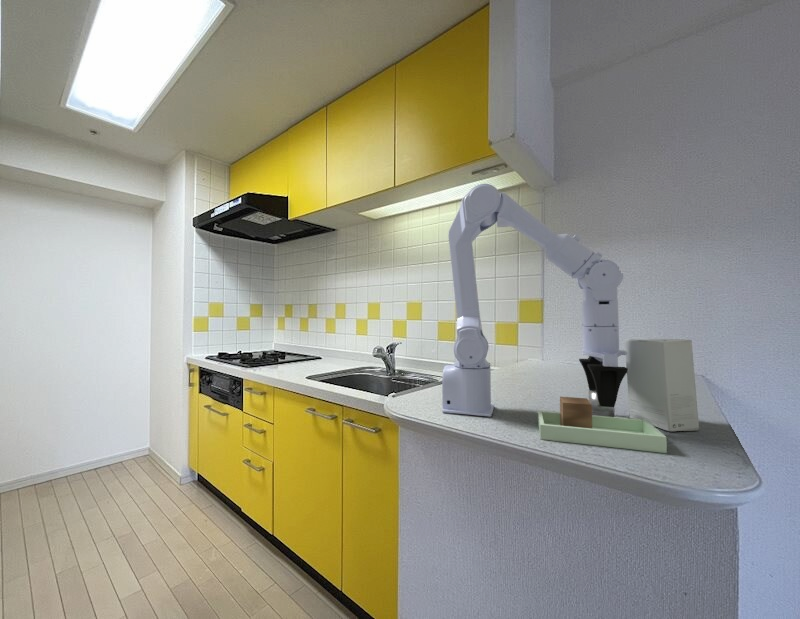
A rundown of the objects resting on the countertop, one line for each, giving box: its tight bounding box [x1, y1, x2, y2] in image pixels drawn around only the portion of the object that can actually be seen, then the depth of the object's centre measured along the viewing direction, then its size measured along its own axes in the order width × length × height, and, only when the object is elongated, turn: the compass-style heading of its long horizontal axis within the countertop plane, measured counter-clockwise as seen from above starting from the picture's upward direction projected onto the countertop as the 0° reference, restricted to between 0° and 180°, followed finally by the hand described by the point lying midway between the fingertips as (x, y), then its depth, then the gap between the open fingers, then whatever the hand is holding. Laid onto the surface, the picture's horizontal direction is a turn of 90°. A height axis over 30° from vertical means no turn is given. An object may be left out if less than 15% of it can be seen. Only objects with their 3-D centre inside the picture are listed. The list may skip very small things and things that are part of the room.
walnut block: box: [559, 396, 592, 429], centre depth 53 cm, size 4×4×5 cm
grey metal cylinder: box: [588, 389, 616, 417], centre depth 60 cm, size 4×4×5 cm
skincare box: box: [624, 337, 700, 432], centre depth 58 cm, size 8×6×15 cm
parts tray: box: [537, 410, 668, 454], centre depth 52 cm, size 16×8×2 cm, turn 70°
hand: (601, 400), depth 60 cm, fingers open, 7 cm apart
